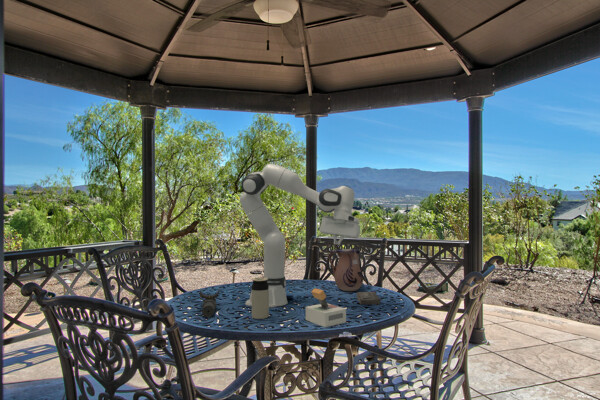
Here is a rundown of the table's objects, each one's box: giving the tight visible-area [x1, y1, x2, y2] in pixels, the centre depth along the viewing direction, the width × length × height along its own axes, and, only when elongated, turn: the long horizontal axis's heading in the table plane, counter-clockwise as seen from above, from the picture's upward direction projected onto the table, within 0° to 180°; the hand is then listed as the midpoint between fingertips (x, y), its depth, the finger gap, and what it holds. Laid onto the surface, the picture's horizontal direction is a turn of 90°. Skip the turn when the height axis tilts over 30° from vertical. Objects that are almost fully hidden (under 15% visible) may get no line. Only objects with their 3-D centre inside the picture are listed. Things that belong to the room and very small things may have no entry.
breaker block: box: [305, 302, 347, 328], centre depth 178 cm, size 12×14×6 cm
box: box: [356, 291, 381, 306], centre depth 217 cm, size 11×17×3 cm, turn 179°
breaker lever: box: [310, 288, 329, 308], centre depth 177 cm, size 2×6×9 cm
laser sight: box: [199, 288, 220, 319], centre depth 196 cm, size 10×22×10 cm, turn 10°
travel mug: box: [251, 276, 270, 320], centre depth 186 cm, size 8×8×18 cm
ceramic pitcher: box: [328, 248, 364, 292], centre depth 246 cm, size 18×21×25 cm
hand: (336, 244), depth 197 cm, fingers closed
